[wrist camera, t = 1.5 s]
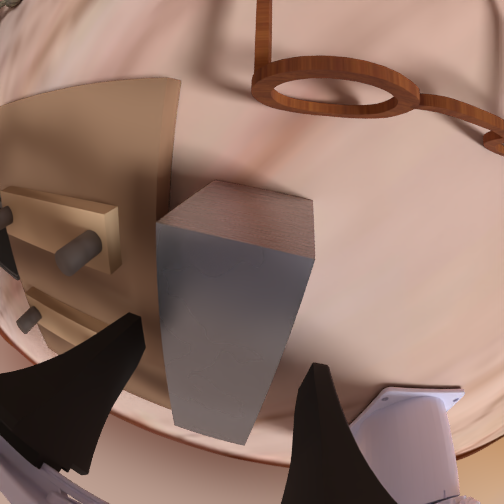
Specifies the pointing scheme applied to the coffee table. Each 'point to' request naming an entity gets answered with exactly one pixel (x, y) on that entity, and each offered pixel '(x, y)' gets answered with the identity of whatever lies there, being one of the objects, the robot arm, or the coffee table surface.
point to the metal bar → (229, 300)
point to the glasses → (353, 70)
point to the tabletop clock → (9, 3)
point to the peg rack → (90, 211)
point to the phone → (7, 253)
